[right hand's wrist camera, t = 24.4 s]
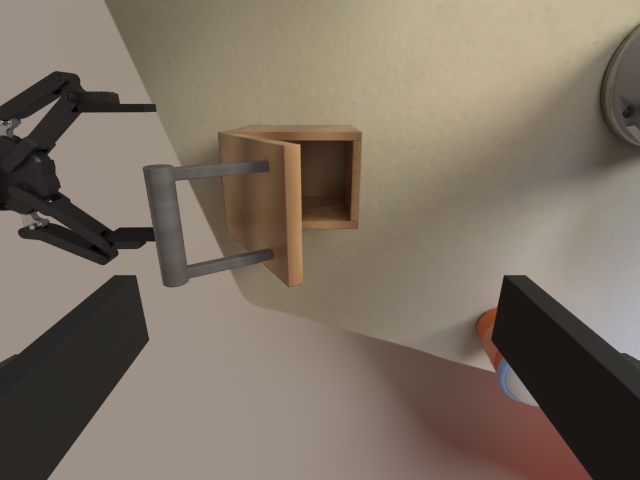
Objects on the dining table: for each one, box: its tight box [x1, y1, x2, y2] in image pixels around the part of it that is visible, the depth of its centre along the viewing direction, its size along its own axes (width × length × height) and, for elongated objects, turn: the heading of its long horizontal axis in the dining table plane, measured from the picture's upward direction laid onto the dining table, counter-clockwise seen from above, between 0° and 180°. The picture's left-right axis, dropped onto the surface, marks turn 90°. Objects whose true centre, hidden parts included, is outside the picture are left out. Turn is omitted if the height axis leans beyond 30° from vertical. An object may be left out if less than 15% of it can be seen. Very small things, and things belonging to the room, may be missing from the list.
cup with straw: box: [477, 309, 540, 407], centre depth 45 cm, size 9×9×18 cm
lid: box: [143, 132, 303, 287], centre depth 27 cm, size 14×10×9 cm
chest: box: [227, 125, 362, 229], centre depth 40 cm, size 13×10×11 cm
